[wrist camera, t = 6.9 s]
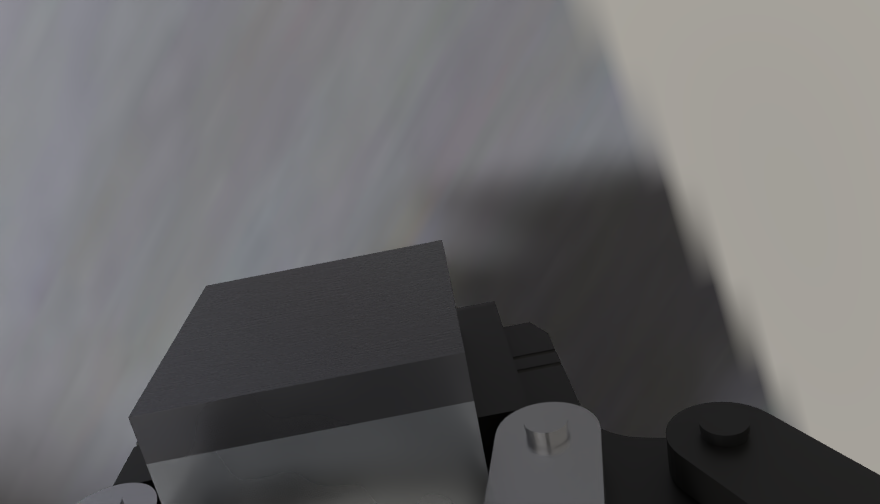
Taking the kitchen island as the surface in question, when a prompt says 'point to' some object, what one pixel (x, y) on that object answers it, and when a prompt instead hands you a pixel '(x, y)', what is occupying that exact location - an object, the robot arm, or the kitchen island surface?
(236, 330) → the shaft
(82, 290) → the kitchen island surface
